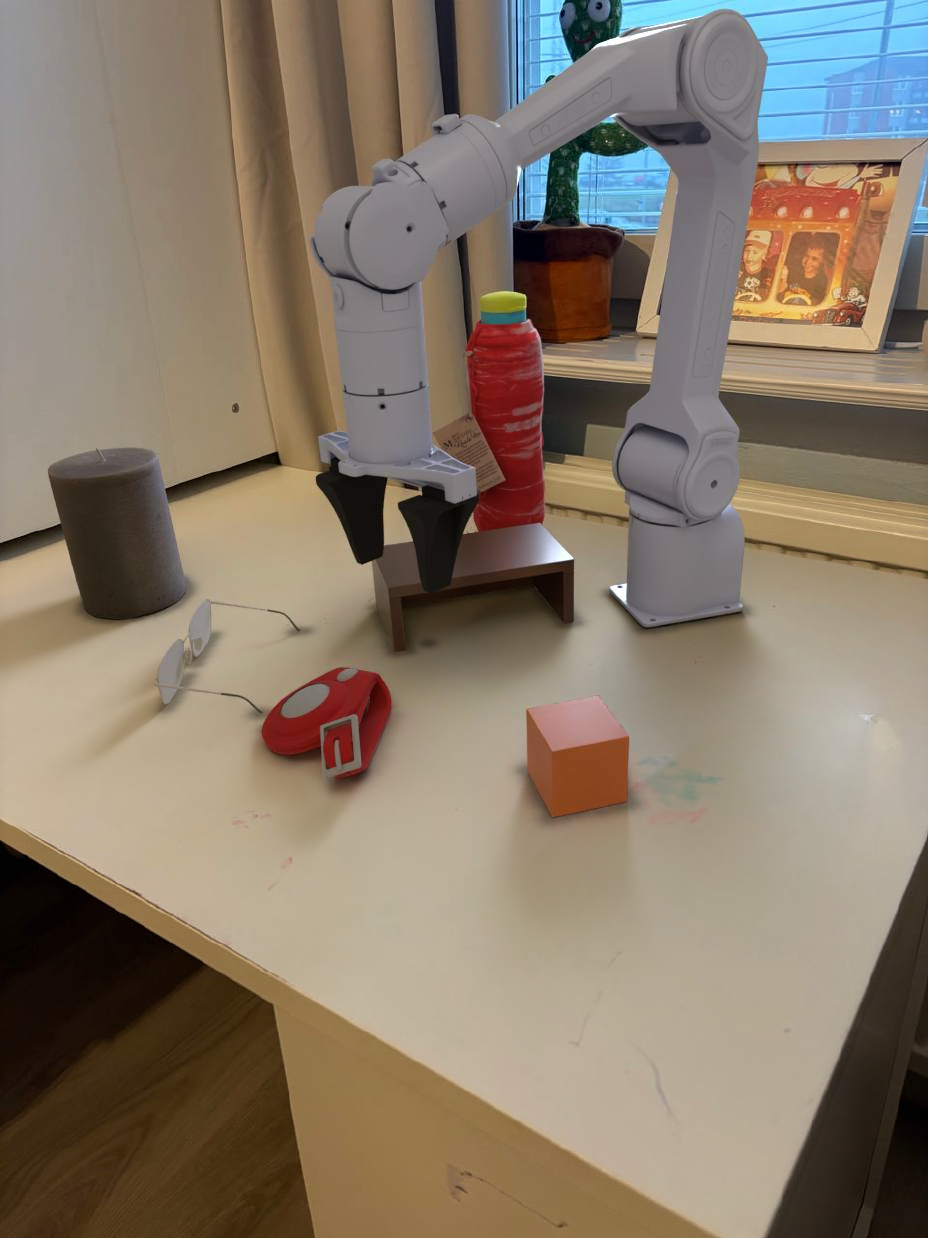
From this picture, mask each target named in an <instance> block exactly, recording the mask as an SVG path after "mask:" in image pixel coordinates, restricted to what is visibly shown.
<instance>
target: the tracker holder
mask: <svg viewBox="0 0 928 1238" xmlns="http://www.w3.org/2000/svg"><path fill="white" fill-rule="evenodd" d="M392 701H393V699H392V694H391V691H390V689H389V687H388V685H387V684H386V682H385V680H384V678H383V677H382V676H381V675H380V673H378V672H375V671H369V670H364V669H360V668H355V667H349V666H340V667H336V668H333V669H331V670H329V671H327V672H325V673H323V674H321V675H319V676H317V677H315V678H313V679H312V680H309V681H308V682H306V683H304V684H303V685H301V686H300V687H298V688H296V689H295V690H293V691H291V692H290V693H289V694H287V695H286V696H284V697H283V698H281V699H280V700H279V701H278V702H277V703H276V704H275V705H274V706H273V708H272V709H271V710H270V711H269V713H268V714H267V715H266V717H265V719H264V721H263V722H262V726H261V732H260V734H261V738H262V740H263V742H264V743H265V745H266V746H267V747H268V749H270V751H272V752H274V753H276V754H279V755H287V756H288V755H296V754H300V753H304V752H305V753H306V752H308V751H311V750H314V749H316V748H318V747H320V751H321V768H322V769H321V771H322V772H321V773H322V778H324V779H329V778H332V777H334V778H336V779H341V778H345V777H350V776H353V775H357V774H359V773H361V772H363V771H365V770H366V769H367V768H368V766H369V765H370V762H371V759H372V757H373V755H374V752H375V749H376V747H377V744H378V743H379V742H380V741H379V740H380V738H381V735H382V733H383V731H384V728H385V726H386V724H387V721H388V719H389V717H390V715H391V712H392V711H391V710H392V708H393V704H392V703H393V702H392ZM367 704H368V705H367ZM366 707H367V708H366Z"/></svg>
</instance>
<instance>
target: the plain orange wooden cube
mask: <svg viewBox="0 0 928 1238" xmlns="http://www.w3.org/2000/svg"><path fill="white" fill-rule="evenodd" d="M525 715H526V716H525V717H526V718H525V719H526V720H525V721H526V723H525V724H526V760H527V761H526V763H527V773H528V775H529V777H530V779H531V780H532V782H533V784H534V786H535V788H536V790H537V792H538V793H539V795H540V797H541V799H542V801H543V803H544V804H545V806H546V808H547V810H548V812H549V814H550V815H551V818H556V817H561V816H567V815H571V814H575V813H580V812H585V811H590V810H594V809H599V808H604V807H608V806H613V805H617V804H622V803H625V802H628V785H629V761H630V759H629V757H630V739H631V738H630V735H629V734H628V732H627V731H626V730H625V729H624V727H623V726H622V724H621V723H620V722H619V720H618V718H616V716H615V715H614V713H613V712H612V711H611V710H610V708H609V707H608V706H607V704H606V703H605V702H604V701H603V699H602V698H601V697H600V695H599V694H598V695H592V696H587V697H581V698H576V699H571V700H566V701H565V700H564V701H560V702H555V703H550V704H544V705H537V706H532V707H527V708H526V710H525Z"/></svg>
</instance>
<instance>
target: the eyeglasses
mask: <svg viewBox="0 0 928 1238" xmlns="http://www.w3.org/2000/svg"><path fill="white" fill-rule="evenodd" d="M211 605H221V606H229V607H235V608H243V609H250V610H258V611H265V612H270V613H276V614H280V615H283V616H284V617H285V618H287V619H288V621H289V622H290V624H291V625H292V626H293V628H294V629H295V630H296V631H297V632H301V631H302V630H301V629H300V628H299V627H298V626H297V625H296V624H295V622H294V621H293V620H292V619H291V617H290V616H289V615H287V614H286V613H284V612H282V611H279V610H274V609H265V608H259V607H253V606H245V605H240V604H234V603H229V602H221V601H213V600H210V599H209V598H205V599H204V600H203V601H202V602H201V603H200V604H199V606H198V607H197V608H196V610H195V611H194V613H193V614H192V616H191V619H190V620H189V625H188V632H187V635H186V637H185V638H184V639H182V638H177V639H176V640H174V641H173V643H172V644H171V646H170V647H168V649H167V651H166V652H165V654H164V656H163V658H162V659H161V661H160V663H159V665H158V667H157V671H156V678H155V679H154V681H153V685H154V686H155V687H157V688H158V691H159V694H160V698H161V701H162V703H163V704H164V705H168V704H169V703H170V702H171V701H172V699H173V698H174V696H176V695H175V694H176V693H177V691H178V690H182V691H188V692H191V691H192V692H195V693H196V692H197V693H206V694H214V695H220V696H225V697H233V698H234V697H236V698H239V699H243V700H244V701H246V702H247V703H248V704H249V705H250V706H251V707H252V708H253V709H254V710H255V711H256V712H257V713H259V714H260V715H261V714H264V712H263V711H262V710H260V709H259V708H258V706H256V705H255V704H254V703H253V702H252V701H251V700H249V699H248V698H247V697H245V696H243V695H240V694H234V693H229V692H218V691H211V690H206V689H205V690H204V689H198V688H192V687H184V686H181V685H182V684H181V683H182V681H183V678H184V672H185V660H186V658H187V665H188V666H190V665H191V664H192V662H193V656H194V657H195V658H198V656H200V655H201V654H202V652H203V651H204V649H205V648H206V646H207V644H208V642H209V641H210V637H211V634H212V606H211ZM188 639H189V644H190V648H187V650H185V642H186V641H187V640H188Z"/></svg>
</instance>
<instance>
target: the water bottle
mask: <svg viewBox="0 0 928 1238" xmlns="http://www.w3.org/2000/svg"><path fill="white" fill-rule="evenodd" d="M479 311H480V319H479V320H478V321H477V322H476V324H475V327H474V330H473V331H472V332H471V333H470V336H469V339H468V341H467V344H466V347H465V350H463V351H462V358H463V359H464V370H465V371H464V373H465V387H466V400H467V410H468V413H466V414H464V415H462V416H460V417H458V418H457V419H455V420H453V421H451V422H450V423H448V424H446V425H444V426H442V427H440V428H439V429H436V430H435V431H432V436H434V439H435V440H436V442H437V444H438V446H439V447H438V448H439V449H441V450H442V451H444V452H446V453H447V454H449V455H450V456H452V457H453V458H455V459H456V460H458V461H460V462H461V463H464V464H466V465H469V466H472V467H475V468H476V489H477V490H479V499H480V500H479V502H478V504H477V506H476V507H475V509H474V511H473V513H472V516H473V517H472V518H473V522H474V525H475V527H476V529H477V532H480V531H487V530H494V529H501V528H508V527H515V526H522V525H529V524H536V523H541V525H542V526H543V524H544V521H545V517H546V483H545V471H544V459H543V457H544V456H543V447H544V446H545V442H544V435H543V431H542V421H543V415H544V397H545V396H544V395H545V372H544V370H545V369H544V367H545V366H544V353H543V346H542V339H541V336H540V334H539V332H538V330H537V328H535V327H534V324H533V322H532V319H530V318H527V296H526V294H523V293H520V292H516V291H509V290H505V291H504V290H503V291H494V292H491V293H487V294H484V295H482V296H481V297H480V298H479Z"/></svg>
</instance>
